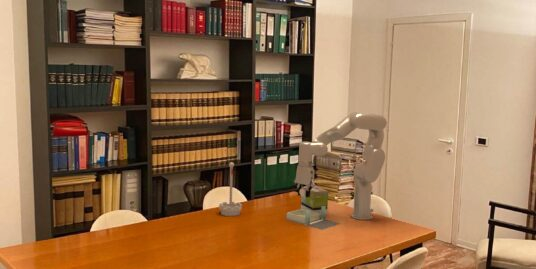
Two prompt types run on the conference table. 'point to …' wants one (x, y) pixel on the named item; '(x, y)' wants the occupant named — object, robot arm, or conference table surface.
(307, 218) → the post near
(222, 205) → the flag stand
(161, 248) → the conference table surface
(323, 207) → the post far
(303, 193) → the ball
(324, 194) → the tea box
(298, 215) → the tray
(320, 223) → the mat
